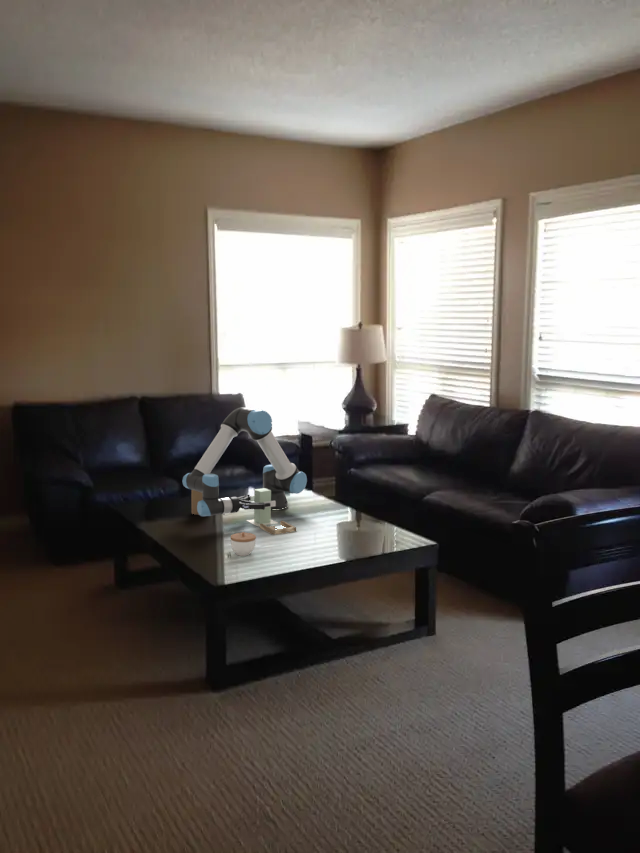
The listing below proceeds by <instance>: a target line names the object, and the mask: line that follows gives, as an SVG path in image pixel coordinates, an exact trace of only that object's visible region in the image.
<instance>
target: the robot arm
mask: <svg viewBox="0 0 640 853" xmlns="http://www.w3.org/2000/svg"><path fill="white" fill-rule="evenodd" d="M272 422H273V419H272V416H271V415H270V414H269V413H268V412H267V411H266V410H263V409H259V408H251V407H245V406H244V407H243V406H242V407H237V408H235V409H234V410H232V411H231V412H230V413H229V414H228V415H227V417H225V419H224V420H223V422H221V424H220V429H219V431H218V433H217V434H216V435H215V437H214V438H213V440H212V441H211V443H210V445H209V446H208V447H207V449H206V450H205V452H204V453H203V454H202V457H201V458H200V459H199V461H198V462H197V464H196V465H195V466H194V469H193V470H192V471H191V472H187V473H186V474H185V475H183V477H182V485H183V487H185V488H186V489H188V490H195V491H198V492H201V493H202V496H203V498H202V500H201V501H199V502H198V505H197V511H198V513H199V515H198V516H200V517H211V516H217V515H223V516H225V515H227V514H234V513H238V512H239V511H240V509H242V510H245V511H246V510H254V509H263V510H264V509H265V508H266V507H271V511H273V510H272V509H282V508H285V507H287V506H288V507H289V503H288V499H287V495H286V492H287V493H290V494H297V495H299V494H300V493H302V492H303V491H304V489H305V488H306V486H307V482H308V478H307V474H306V473H305V472H303V471H302V470H301V471H300V470H299V469H298V467H297V465H296V464H295V463H293V462H291V461H290V460H289V458H288V457H287V455H286V453H285V452H284V450H283V448H282V447H281V445H280V444H279V442H278V440H277V439H276V437H275V435H274V434H273V432H272V430H273V423H272ZM241 432H246V433H247V434H248V435H249V437H250V439H251V440H253V441H257V443H258V445H259V447H260V448H261V450H262V451H263V453H264V455H265V456H266V458H267V459H268V461H269V462H270V464H266V465H265V466H263V470H262V488H266V489H268V490H271V501H267V502H263V503H259V502H254V495H250V494H246V495H242V496H238V497H237V496H231V497H221V498H219V494H220V493H219V490H220V488H219V486H220V483H219V480H220V479H219V475H218V474H215V473H211V472H212V470H213V469H214V468H215V466H216V464H217V463H218V462H219V460H220V459H221V457H222V455H223V454H224V453H225V451H226V450H227V448H228V446H229V445H230V443H231V442H232V440H233V438H235V437H238V435H239V434H240V433H241Z"/></svg>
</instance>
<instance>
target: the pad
mask: <svg viewBox="0 0 640 853" xmlns="http://www.w3.org/2000/svg"><path fill="white" fill-rule="evenodd" d="M245 522H249V523H250V524H252V525H254V526H256V527H260V524H259V523H257V522H255V521H254V518H253V519H246V520H245ZM263 524H264V525H266V526H269V525H270V526H271V525H278V524H279V522H278V521H275V520H273V519H272V518H271V522H270V523H263Z"/></svg>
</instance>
